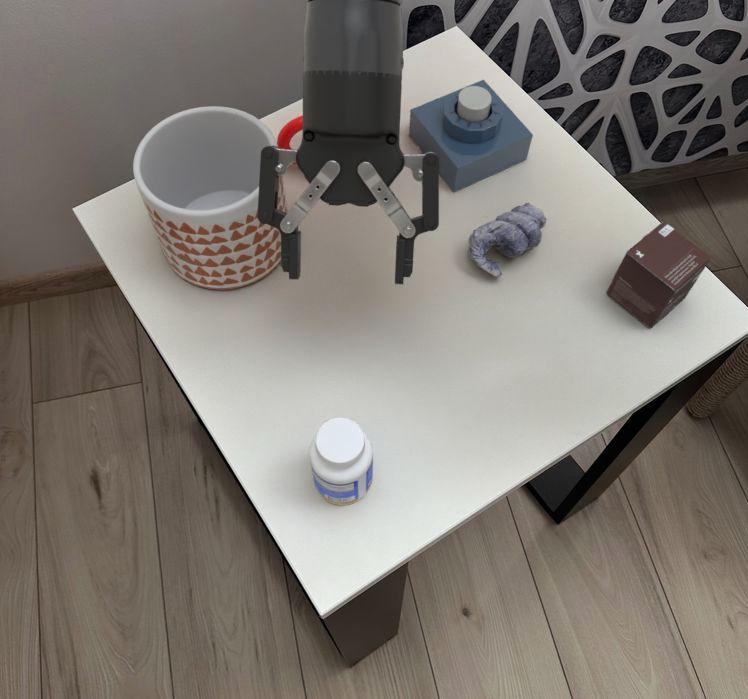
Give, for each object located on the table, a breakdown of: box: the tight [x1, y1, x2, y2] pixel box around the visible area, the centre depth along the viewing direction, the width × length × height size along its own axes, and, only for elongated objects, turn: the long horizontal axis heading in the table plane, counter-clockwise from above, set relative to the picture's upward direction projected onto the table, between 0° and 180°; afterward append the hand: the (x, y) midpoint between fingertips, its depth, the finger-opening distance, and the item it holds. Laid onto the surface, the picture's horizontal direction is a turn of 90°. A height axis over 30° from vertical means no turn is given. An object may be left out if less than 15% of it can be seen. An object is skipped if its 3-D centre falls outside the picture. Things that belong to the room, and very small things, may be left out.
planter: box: [132, 105, 289, 291], centre depth 78 cm, size 14×14×13 cm
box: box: [606, 221, 712, 329], centre depth 77 cm, size 6×6×7 cm
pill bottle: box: [308, 416, 374, 506], centre depth 66 cm, size 5×5×10 cm
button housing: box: [408, 79, 534, 193], centre depth 87 cm, size 10×10×6 cm
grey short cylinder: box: [457, 85, 492, 123], centre depth 84 cm, size 4×4×2 cm
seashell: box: [468, 202, 548, 279], centre depth 81 cm, size 5×5×10 cm
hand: (347, 280), depth 63 cm, fingers open, 8 cm apart
